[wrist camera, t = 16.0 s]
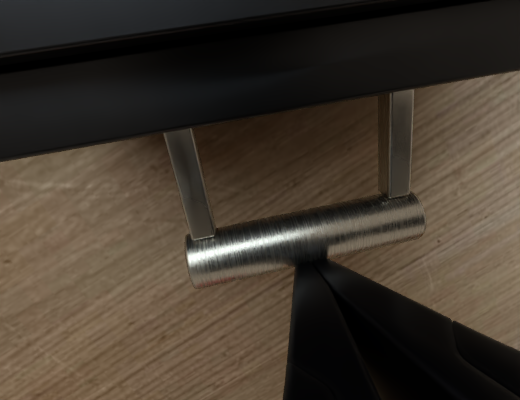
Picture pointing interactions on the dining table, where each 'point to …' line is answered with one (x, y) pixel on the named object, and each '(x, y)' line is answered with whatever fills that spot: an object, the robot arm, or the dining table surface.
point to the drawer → (265, 103)
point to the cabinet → (154, 22)
